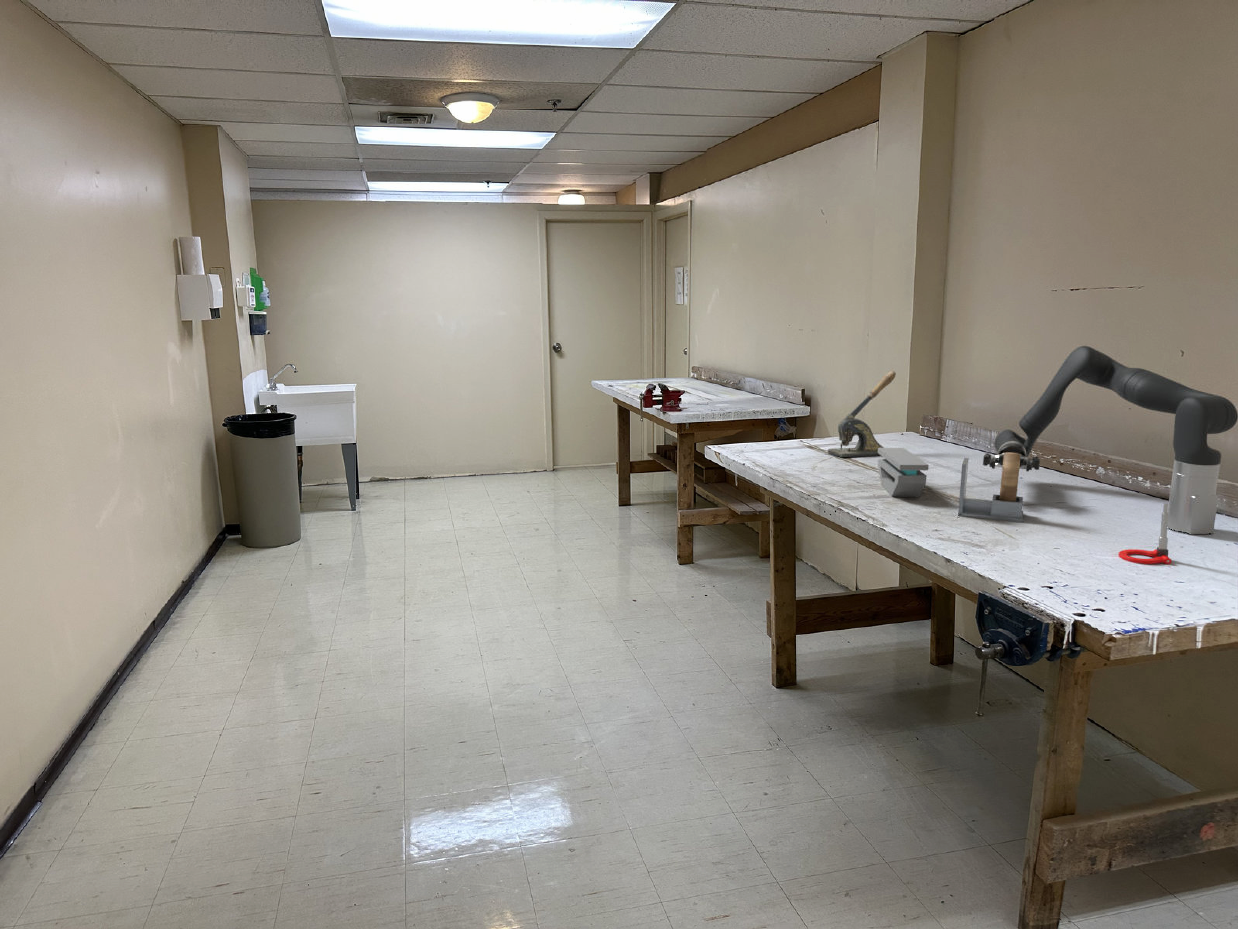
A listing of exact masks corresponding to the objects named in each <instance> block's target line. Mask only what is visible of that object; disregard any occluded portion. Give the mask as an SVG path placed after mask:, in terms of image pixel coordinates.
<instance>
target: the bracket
mask: <svg viewBox="0 0 1238 929" xmlns="http://www.w3.org/2000/svg"><path fill="white" fill-rule="evenodd" d="M969 460H970V458H968V457H964V458H963V461H962V463H961V464H962V465H961V474H960V486H959V487H960V489H959V500H958V513H957V516H958V517H966V518H967V517H969V518H975V519H976V518H977V519H987V520H996V521H997V520H998V521H1007V522H1017V523H1023V522H1024V510H1023V504H1024V496H1016V502H1011V501H1000V500H999V498H1000V494H995V493H994V494H992V495H993V496H992V500H990V499H980V498H969V497H966V493H967V482H968V469H969Z"/></svg>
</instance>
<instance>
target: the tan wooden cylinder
mask: <svg viewBox="0 0 1238 929" xmlns="http://www.w3.org/2000/svg"><path fill="white" fill-rule="evenodd" d="M1020 458H1021V454H1018V453H1004V457H1003V467H1001V479H1000V488H999V495H1000V498H999V500H1000V501H1011V502H1016V496H1017V494H1018V487H1019V486H1018V485H1019V476H1020V469H1019V467H1020Z"/></svg>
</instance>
